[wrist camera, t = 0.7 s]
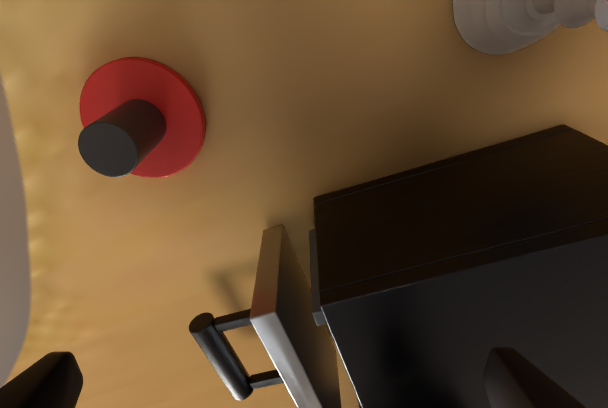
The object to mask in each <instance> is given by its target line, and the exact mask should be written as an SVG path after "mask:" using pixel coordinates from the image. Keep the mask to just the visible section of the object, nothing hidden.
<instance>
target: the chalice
mask: <svg viewBox="0 0 608 408" xmlns="http://www.w3.org/2000/svg"><path fill="white" fill-rule="evenodd" d="M453 12H454V22H455V24H456V26H457V29H458V31H459V33H460V35H461V37H462V38H463V39H464V40H465V41H466V42H467V43H468V44H469V45H470V46H471V47H472V48H473V49H475V50H478V51H480V52H483V53H486V54H508V53H511V52H514V51H517V50H520V49H523V48H524V47H526V46H527V45H530V44H532V43H534V42H535V41H538V40H540V39H542V38H544V37H545V36H547V35H548V34H550V33H551V32H553V31H554V30H555V29H556V28H557V27H558V26H559V25H560V24H561V25H563V26H565V27H567V28H578V27H581V26H584V25H586V24H587V23H589V22H590V21H592V20H593V19H594V18H595V19H596V23H597V24H598V25H599V27H600V28H601V29H603V30H605V31H607V32H608V0H453Z"/></svg>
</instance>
